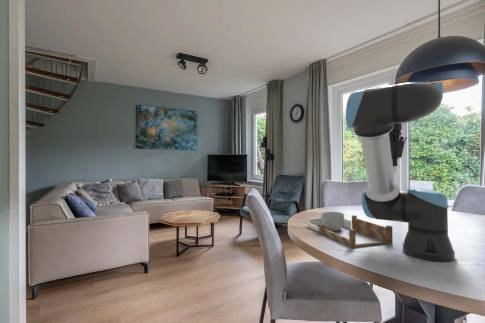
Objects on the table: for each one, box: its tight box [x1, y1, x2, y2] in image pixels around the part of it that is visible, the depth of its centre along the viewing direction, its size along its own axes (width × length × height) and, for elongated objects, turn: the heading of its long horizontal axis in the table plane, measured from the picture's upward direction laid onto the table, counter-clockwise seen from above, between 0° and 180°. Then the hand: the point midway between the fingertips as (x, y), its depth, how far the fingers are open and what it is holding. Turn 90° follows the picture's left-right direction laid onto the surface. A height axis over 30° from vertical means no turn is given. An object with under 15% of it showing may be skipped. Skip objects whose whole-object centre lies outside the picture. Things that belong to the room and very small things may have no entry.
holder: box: [307, 217, 352, 233], centre depth 129 cm, size 10×19×4 cm, turn 106°
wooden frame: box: [319, 215, 394, 249], centre depth 111 cm, size 22×20×7 cm
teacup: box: [320, 211, 345, 232], centre depth 126 cm, size 14×11×8 cm
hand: (392, 173), depth 118 cm, fingers closed
